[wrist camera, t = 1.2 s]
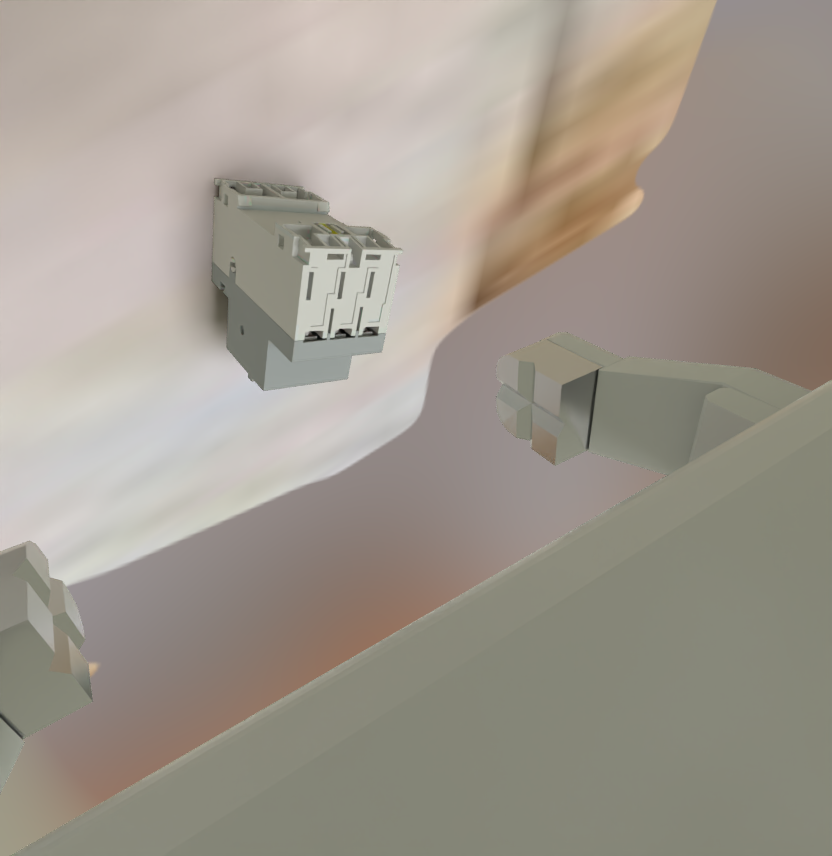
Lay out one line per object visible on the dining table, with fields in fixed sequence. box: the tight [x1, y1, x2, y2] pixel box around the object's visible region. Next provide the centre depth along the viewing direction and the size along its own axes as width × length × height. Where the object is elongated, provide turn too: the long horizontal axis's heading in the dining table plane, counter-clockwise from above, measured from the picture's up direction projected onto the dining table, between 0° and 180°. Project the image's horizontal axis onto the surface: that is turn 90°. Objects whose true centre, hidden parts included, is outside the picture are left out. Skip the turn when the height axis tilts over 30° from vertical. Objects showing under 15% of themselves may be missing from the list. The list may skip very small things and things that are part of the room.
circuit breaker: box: [212, 178, 403, 391], centre depth 44 cm, size 8×14×15 cm, turn 164°
